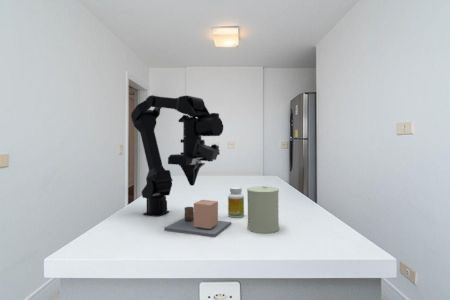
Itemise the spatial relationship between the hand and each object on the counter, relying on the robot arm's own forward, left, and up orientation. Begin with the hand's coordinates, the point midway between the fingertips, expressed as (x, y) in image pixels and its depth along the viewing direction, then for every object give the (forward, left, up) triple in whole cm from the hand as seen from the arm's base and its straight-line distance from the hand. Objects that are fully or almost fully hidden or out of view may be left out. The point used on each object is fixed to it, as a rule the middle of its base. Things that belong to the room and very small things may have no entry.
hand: (192, 185), depth 84 cm
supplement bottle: (+11, +11, -12) cm, 20 cm away
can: (+23, +1, -12) cm, 26 cm away
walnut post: (0, -2, -12) cm, 12 cm away
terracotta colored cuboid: (+8, -6, -10) cm, 14 cm away
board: (+5, -5, -12) cm, 13 cm away
